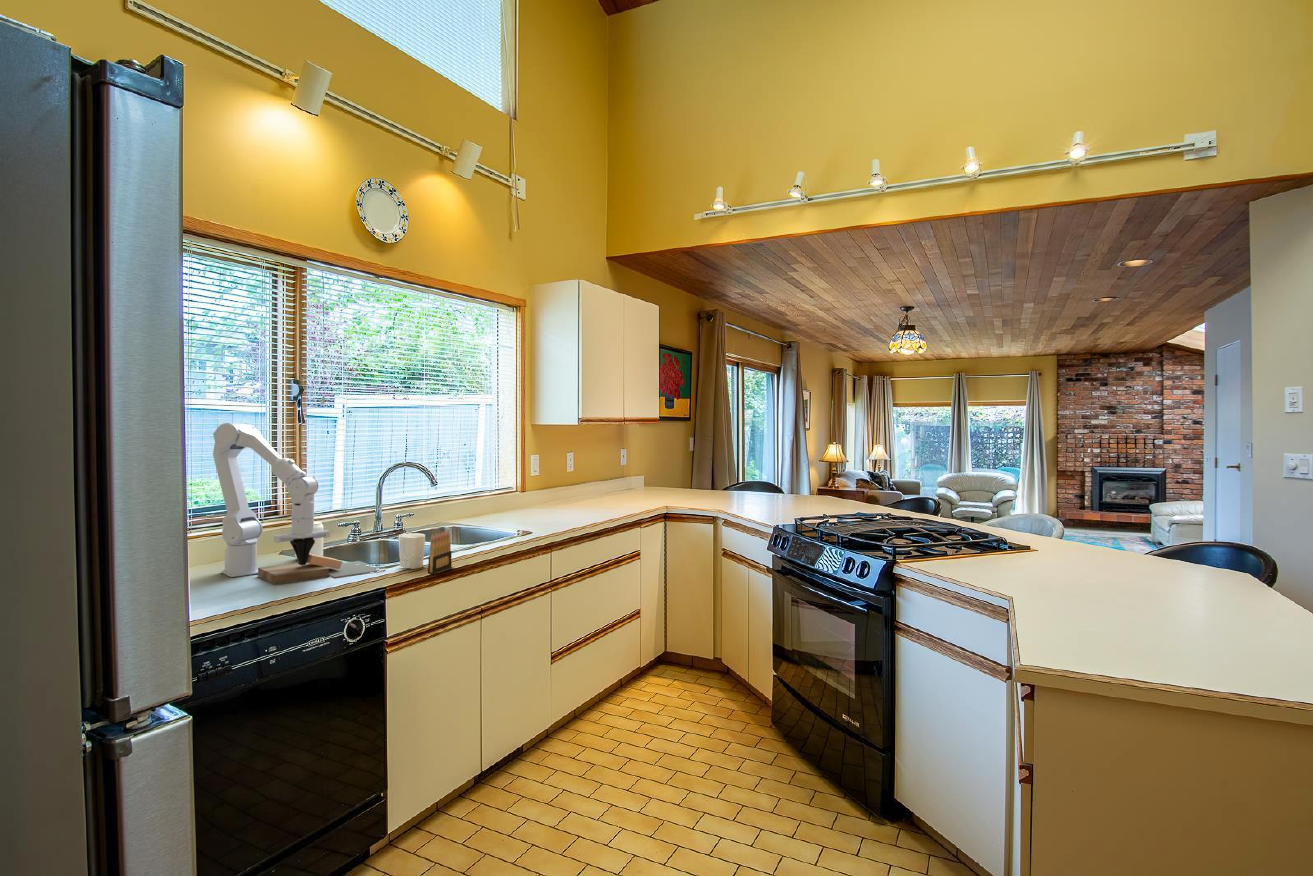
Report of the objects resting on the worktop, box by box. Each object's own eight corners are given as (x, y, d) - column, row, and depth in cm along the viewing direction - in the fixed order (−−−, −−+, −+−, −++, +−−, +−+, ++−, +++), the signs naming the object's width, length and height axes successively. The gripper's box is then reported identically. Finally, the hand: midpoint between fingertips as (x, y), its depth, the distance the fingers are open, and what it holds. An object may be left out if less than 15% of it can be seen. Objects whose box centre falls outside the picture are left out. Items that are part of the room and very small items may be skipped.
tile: (301, 560, 194) (304, 552, 195) (331, 566, 201) (333, 558, 201) (309, 563, 190) (312, 555, 191) (339, 569, 197) (342, 561, 197)
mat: (309, 568, 201) (309, 567, 201) (358, 562, 212) (358, 560, 212) (334, 578, 189) (334, 577, 189) (385, 570, 200) (385, 569, 200)
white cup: (398, 570, 201) (399, 537, 201) (397, 565, 208) (398, 534, 208) (425, 568, 205) (426, 536, 204) (423, 563, 212) (424, 532, 212)
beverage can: (303, 562, 209) (304, 525, 209) (289, 559, 214) (290, 522, 213) (327, 559, 216) (328, 522, 216) (314, 555, 220) (314, 520, 220)
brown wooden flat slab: (258, 576, 189) (258, 567, 189) (309, 569, 200) (309, 561, 200) (275, 584, 180) (276, 575, 180) (328, 576, 190) (328, 568, 190)
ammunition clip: (433, 573, 197) (434, 534, 197) (427, 573, 198) (428, 533, 198) (451, 566, 208) (452, 529, 208) (446, 566, 208) (447, 528, 208)
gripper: (280, 521, 183) (280, 570, 183) (334, 517, 194) (333, 563, 194) (271, 519, 188) (271, 566, 188) (324, 514, 199) (323, 559, 199)
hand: (302, 564), depth 191 cm, fingers closed
